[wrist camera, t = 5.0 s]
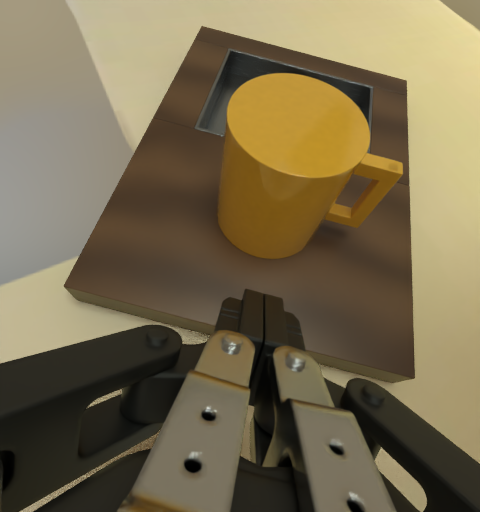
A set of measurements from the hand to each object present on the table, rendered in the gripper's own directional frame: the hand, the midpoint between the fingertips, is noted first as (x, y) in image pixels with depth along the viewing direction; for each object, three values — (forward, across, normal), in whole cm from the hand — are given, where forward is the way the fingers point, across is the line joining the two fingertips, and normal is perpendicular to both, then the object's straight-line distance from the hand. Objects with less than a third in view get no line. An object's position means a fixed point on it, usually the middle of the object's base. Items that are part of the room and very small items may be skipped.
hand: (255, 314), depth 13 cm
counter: (+18, 0, -4) cm, 19 cm away
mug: (+12, -1, -2) cm, 12 cm away
